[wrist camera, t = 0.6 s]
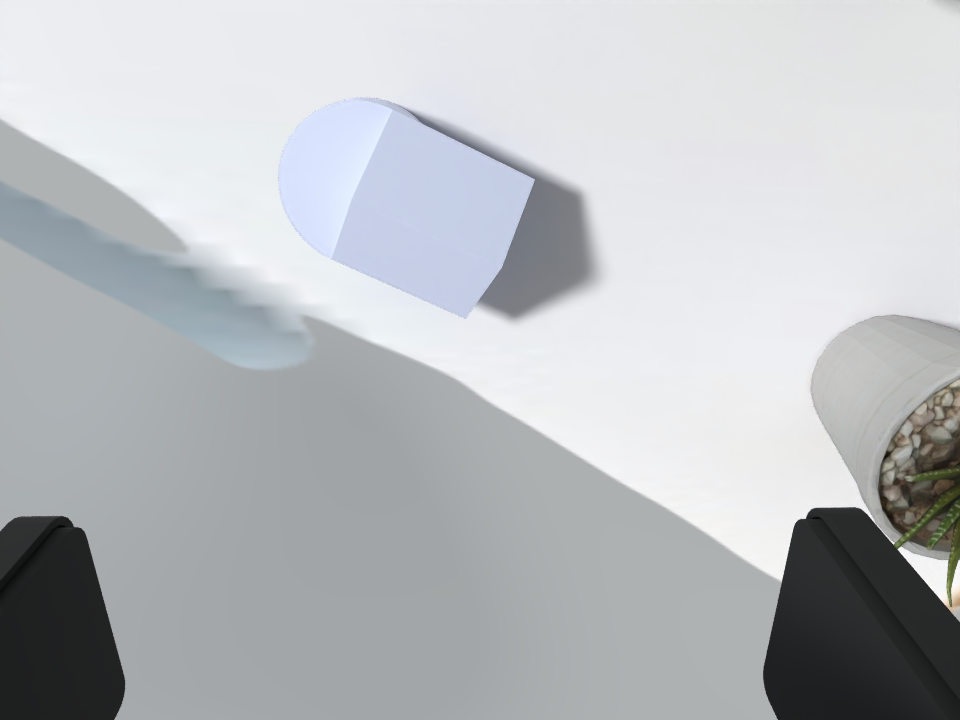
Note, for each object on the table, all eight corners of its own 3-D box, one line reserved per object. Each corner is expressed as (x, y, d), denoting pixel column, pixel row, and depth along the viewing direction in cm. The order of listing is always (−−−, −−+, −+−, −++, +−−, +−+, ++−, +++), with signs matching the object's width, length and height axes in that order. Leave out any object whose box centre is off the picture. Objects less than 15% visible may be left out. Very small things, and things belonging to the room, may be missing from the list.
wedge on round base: (530, 170, 43) (324, 68, 40) (541, 190, 36) (298, 70, 34) (465, 300, 46) (271, 213, 43) (465, 339, 39) (238, 239, 37)
